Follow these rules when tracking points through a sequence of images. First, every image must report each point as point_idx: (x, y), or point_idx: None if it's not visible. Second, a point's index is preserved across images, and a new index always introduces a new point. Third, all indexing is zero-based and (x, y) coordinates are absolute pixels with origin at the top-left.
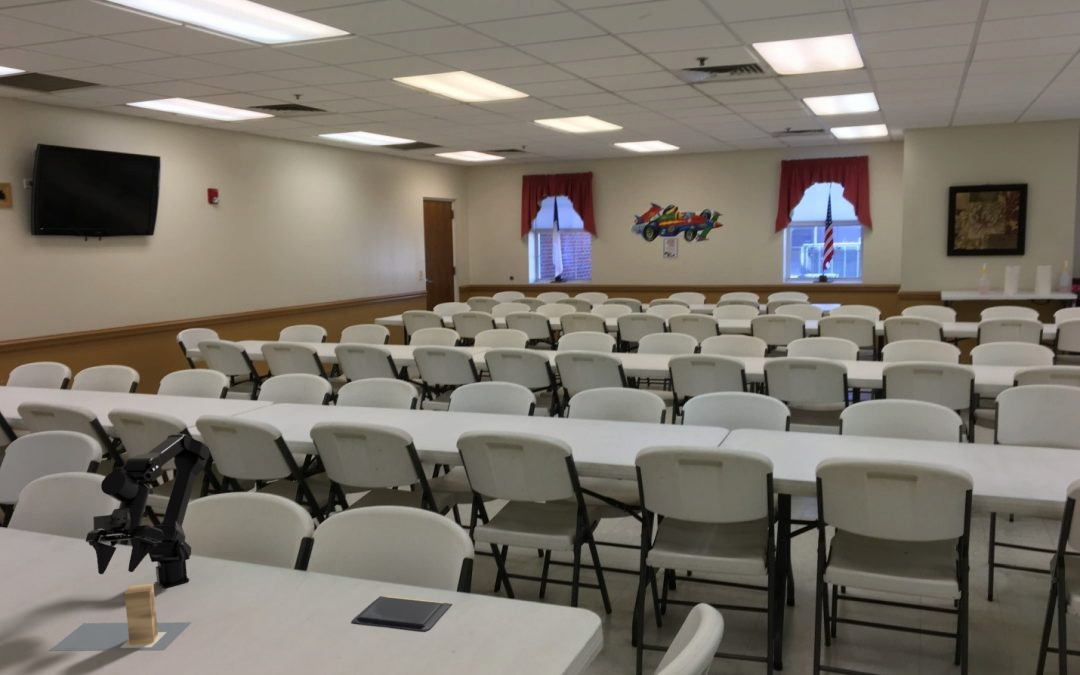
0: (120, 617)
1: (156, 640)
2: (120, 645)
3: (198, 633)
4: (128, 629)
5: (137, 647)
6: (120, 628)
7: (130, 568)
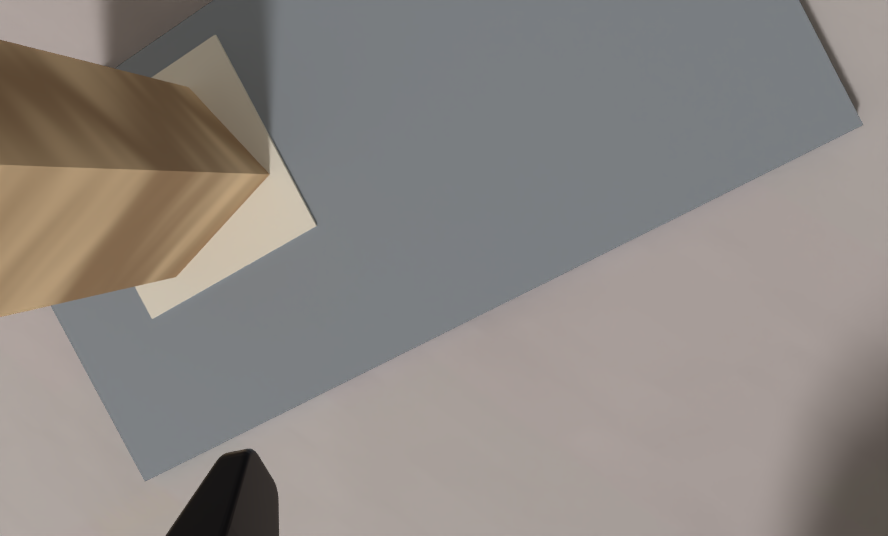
0: (697, 349)
1: None
2: (244, 56)
3: (27, 409)
4: (111, 69)
5: None
6: (480, 211)
7: (200, 488)
